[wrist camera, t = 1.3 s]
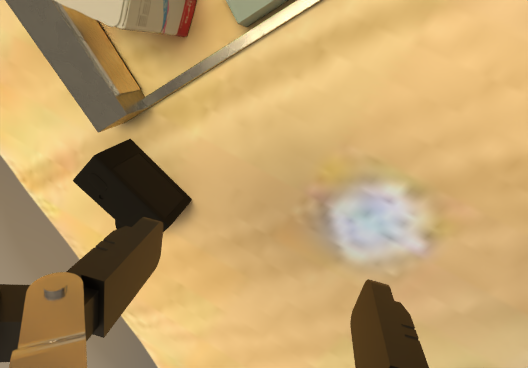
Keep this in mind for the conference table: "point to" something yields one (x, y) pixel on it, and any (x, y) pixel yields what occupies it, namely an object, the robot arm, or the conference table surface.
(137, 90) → the vise
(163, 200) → the digital camera
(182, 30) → the ink box
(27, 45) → the conference table surface
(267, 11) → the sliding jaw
